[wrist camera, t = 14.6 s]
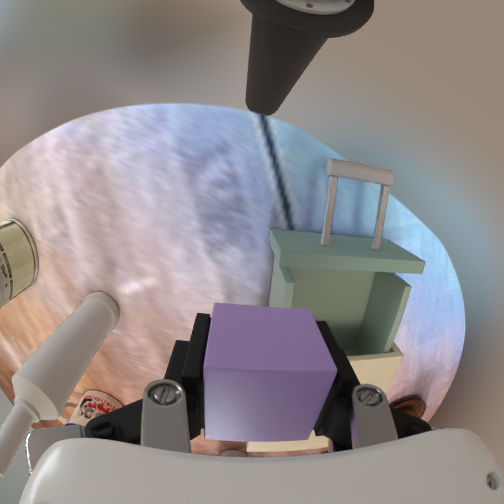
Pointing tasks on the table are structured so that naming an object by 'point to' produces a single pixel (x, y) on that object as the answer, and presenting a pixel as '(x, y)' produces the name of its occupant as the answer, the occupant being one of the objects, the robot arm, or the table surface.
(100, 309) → the bottle
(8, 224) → the coffee can
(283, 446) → the beige box
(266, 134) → the table surface
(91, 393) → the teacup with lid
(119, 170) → the table surface
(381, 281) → the drawer
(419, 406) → the cup and saucer
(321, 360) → the purple cube
